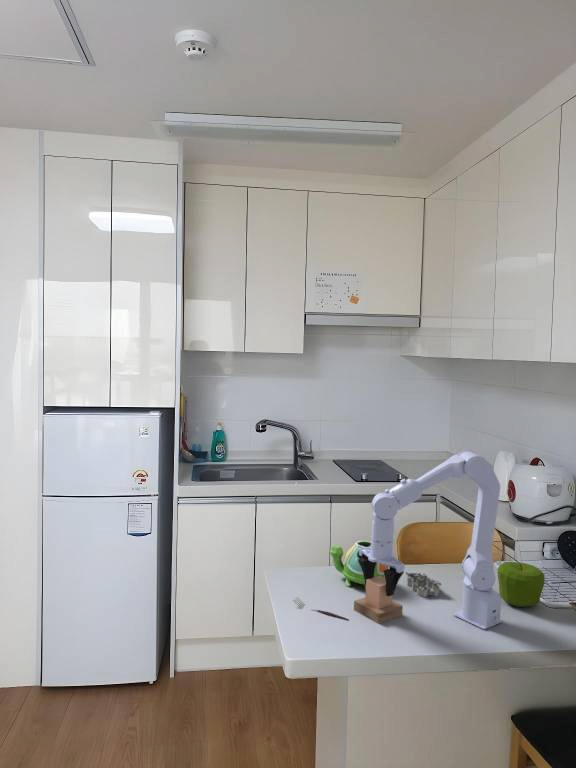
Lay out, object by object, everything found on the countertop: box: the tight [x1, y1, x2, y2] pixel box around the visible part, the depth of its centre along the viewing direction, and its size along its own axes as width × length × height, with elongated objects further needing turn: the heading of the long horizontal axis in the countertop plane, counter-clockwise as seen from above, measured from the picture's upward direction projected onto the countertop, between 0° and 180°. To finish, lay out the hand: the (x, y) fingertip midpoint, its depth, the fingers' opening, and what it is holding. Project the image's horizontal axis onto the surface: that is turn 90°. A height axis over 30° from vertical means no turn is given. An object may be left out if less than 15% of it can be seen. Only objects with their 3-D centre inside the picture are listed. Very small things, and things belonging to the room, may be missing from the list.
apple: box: [497, 561, 545, 608], centre depth 165 cm, size 12×12×11 cm
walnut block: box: [353, 597, 404, 624], centre depth 155 cm, size 9×9×3 cm
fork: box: [292, 596, 350, 621], centre depth 154 cm, size 3×16×2 cm, turn 60°
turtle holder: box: [329, 540, 390, 590], centre depth 175 cm, size 12×18×12 cm
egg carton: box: [405, 571, 442, 598], centre depth 172 cm, size 11×8×4 cm
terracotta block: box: [364, 576, 394, 609], centre depth 155 cm, size 5×5×6 cm
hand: (379, 589), depth 155 cm, fingers open, 7 cm apart
